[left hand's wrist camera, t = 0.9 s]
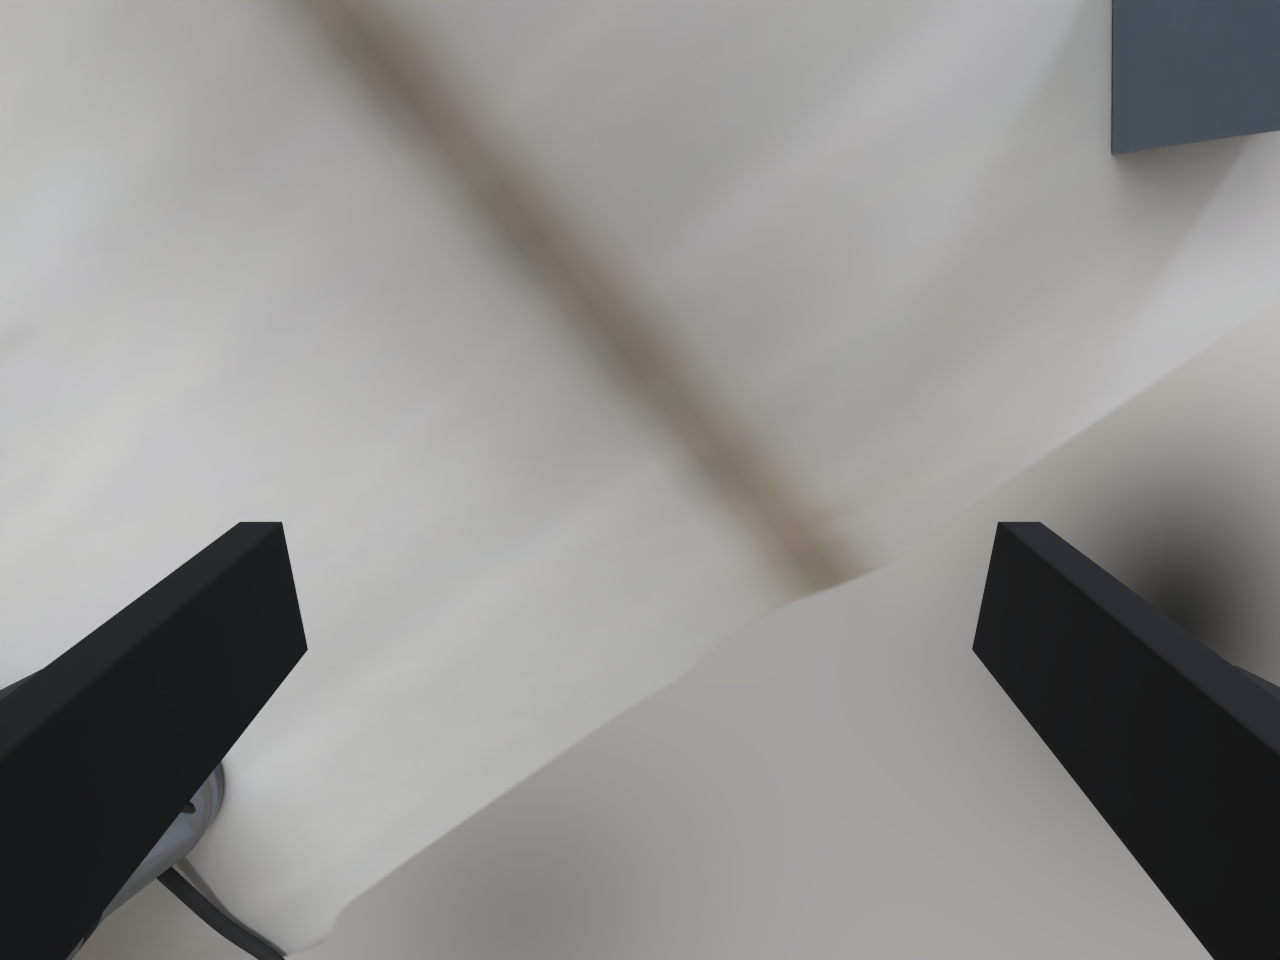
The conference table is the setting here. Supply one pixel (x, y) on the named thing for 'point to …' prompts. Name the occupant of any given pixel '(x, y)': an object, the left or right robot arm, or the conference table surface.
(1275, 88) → the block
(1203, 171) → the conference table surface
